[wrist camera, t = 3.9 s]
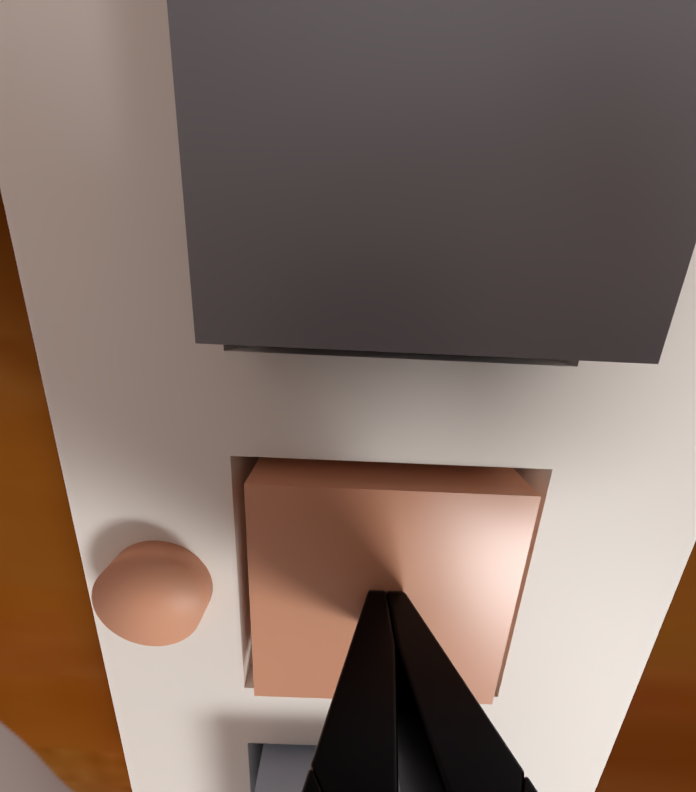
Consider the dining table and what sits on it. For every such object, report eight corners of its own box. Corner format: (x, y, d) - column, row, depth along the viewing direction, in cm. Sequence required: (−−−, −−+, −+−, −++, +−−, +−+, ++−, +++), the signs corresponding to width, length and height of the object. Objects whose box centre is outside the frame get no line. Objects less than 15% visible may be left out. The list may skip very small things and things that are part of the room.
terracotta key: (276, 428, 9) (243, 484, 7) (482, 437, 9) (541, 496, 7) (279, 593, 11) (253, 695, 8) (455, 600, 11) (492, 704, 8)
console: (79, -81, 7) (-204, -483, 3) (745, -44, 7) (1147, -398, 3) (194, 778, 14) (145, 928, 11) (507, 789, 15) (557, 940, 11)
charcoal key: (246, -40, 5) (130, -432, 3) (604, -20, 5) (889, -382, 3) (258, 327, 7) (195, 343, 4) (533, 339, 7) (657, 364, 4)
